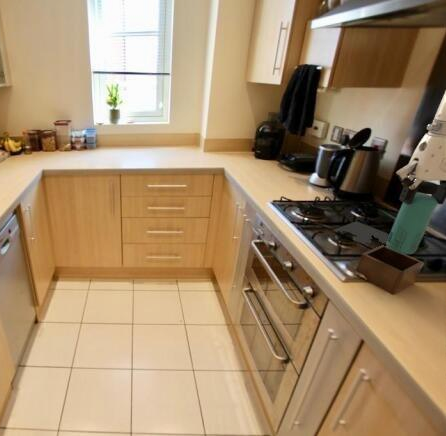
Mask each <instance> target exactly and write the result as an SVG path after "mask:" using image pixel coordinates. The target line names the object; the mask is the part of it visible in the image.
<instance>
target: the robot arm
mask: <svg viewBox="0 0 446 436" xmlns="http://www.w3.org/2000/svg"><path fill="white" fill-rule="evenodd" d="M426 130H427V131H428V132H427V133H425V134H424V136H422V138H421V140H420V141H419V142H418V145H416V148H415V149H414V151H413V154H412V156H410V157H411V158H410V160H409V161H408V164H406V165H405V166H403V167H402V168H399V170H397V171H396V173H395V175H396V176H397V177H398V179H399V181H400V183H401V185H402V186H403V188H402V190H401V193H400V194H399V198H398V200H399V201H400V202H401V203H403V202H404V203H405V204H407V205H410V204H411V203H412V201H413V199H414V196H415V194H416V193H418V192H417V190H416V189H415V188H416V187H417V186H418V185H419V184H420V183H421V182H422V181H439V184H438V185H439V187H438V190H437V193H436V194H432V195H431V194H430V196H432V197H434V198H435V199H436V201H437V202H438V205H444V203H445V201H446V90H445V91H444V94H443V96H442V99H441V100H440V103H439V105H438V108H437V111H436V113H435V116H434V118H433V120H432V122H431V123H429V124H428V125H427V126H426Z"/></svg>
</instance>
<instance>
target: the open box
mask: <svg viewBox="0 0 446 436" xmlns="http://www.w3.org/2000/svg"><path fill="white" fill-rule="evenodd" d="M424 265H425V262H424V261H421V260H419V259H418V258H415V257H412V256H410V255H409V254H403V253H398V252H396V251H393V250H391V249H389V248H388V247H387V245H386V246H384V245H381V246H379V247H376V248H374V249H370V250H368V251H366V252H363V253H361V255H360V258H359V260H358V263H357V264H356V267H355V270H356V271H357V272H359V273H361V274H363V275H364V276H365V277H366V278H367V281H366V282H368V283H370V284H372V285H374V286H376V287H378V288H379V289H382V290H383V291H385V292H388V293H389V294H391V295H393V296H394V295H396V294H398V293H400V292H401V291H403V290H405V289H407V288H408V287H410V286H411V285H414V284H415V283H416V280H417V278H418V277H419V274H420V273H421V270H422V269H423V267H424Z"/></svg>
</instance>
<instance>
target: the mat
mask: <svg viewBox="0 0 446 436" xmlns="http://www.w3.org/2000/svg"><path fill="white" fill-rule="evenodd" d="M338 231H340V232H342V231H348V232H350V233H352V234H354V235H357V236H356V237H357V238H356V241H358V242H360V243H364V241H365V242H368V243H371V240H370V239H372V237H371V236H372V235H373V236H374V237H375V238H378V239H379V241H380V242H382V244H383V243H386V242H387V241H386V240H387V239H388V236H389V234H390V233H387V232H385V231H382V230H380V229H377V228H375V227H372V226H370V225H367V224H365V223H362V222H359V221H357V220H356V221H353V222H350V223H348V224H345V225H343V226H340V227H337V228H334V229H333V230H332V233H335V234H337V232H338Z"/></svg>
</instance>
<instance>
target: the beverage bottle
mask: <svg viewBox="0 0 446 436" xmlns="http://www.w3.org/2000/svg"><path fill="white" fill-rule="evenodd" d="M439 185H440V184H438V183H436V182H432V181H428V180H423V181H422V182H421V183H420V184H419V185H418V186H417V187H416V188H415V189H416V190H417V192H416V194H415V196H414V199H413V201H412V203H411V204H410V205H407V204H405V203H404V202H402V204H401V206H400V207H399V210H398V213H397V215H396V217H395V220H394V221H393V224H392V226H391V229H390V232H389V233H388V234H389V236H388V239H387V240H386V241H387V242H386V246H387V247H388V248H389V249H391V250H393V251H396V252H398V253H403V254H405V255H412V254H414V253H415V252H417V251H418V249H419V246H420V244H421V242H422V240H423V238H424V235H425V233H426V231H427V229H428V226H429V225H430V221H431V219H432V217H433V215H434V214H435V213H434V212H435V210H436V208H437V206H438V205H439V204H438V202H437V201H436V199H435V198H434V197H432V196H431V195H432V194H436V193H437V190H438V187H439Z"/></svg>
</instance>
